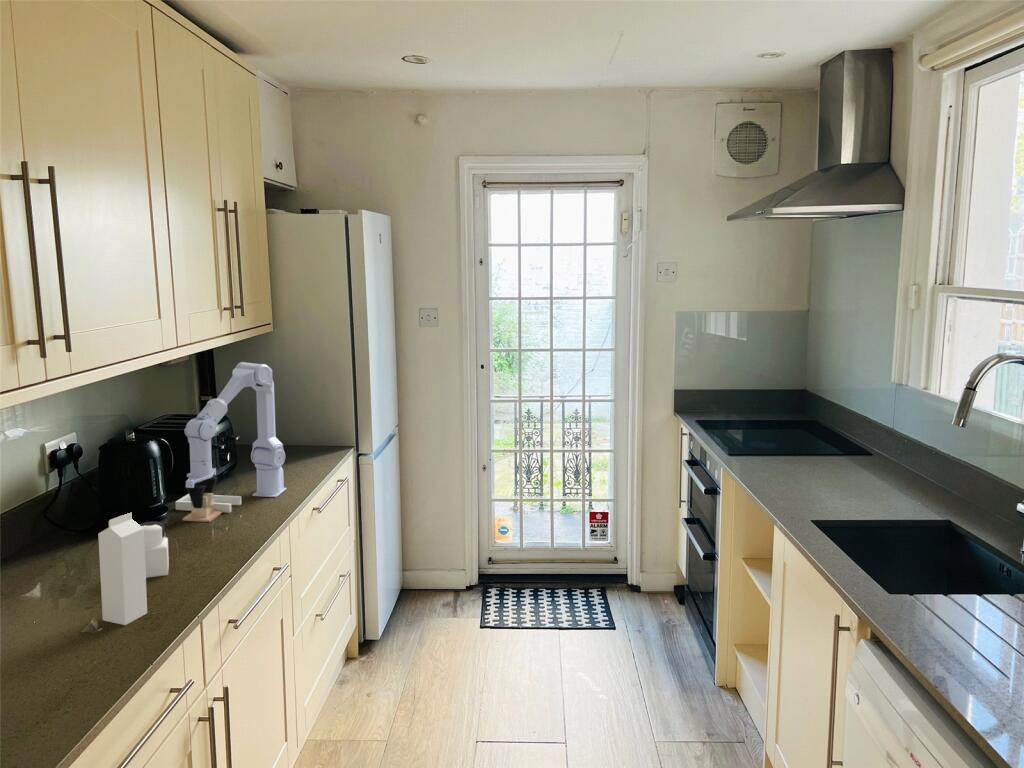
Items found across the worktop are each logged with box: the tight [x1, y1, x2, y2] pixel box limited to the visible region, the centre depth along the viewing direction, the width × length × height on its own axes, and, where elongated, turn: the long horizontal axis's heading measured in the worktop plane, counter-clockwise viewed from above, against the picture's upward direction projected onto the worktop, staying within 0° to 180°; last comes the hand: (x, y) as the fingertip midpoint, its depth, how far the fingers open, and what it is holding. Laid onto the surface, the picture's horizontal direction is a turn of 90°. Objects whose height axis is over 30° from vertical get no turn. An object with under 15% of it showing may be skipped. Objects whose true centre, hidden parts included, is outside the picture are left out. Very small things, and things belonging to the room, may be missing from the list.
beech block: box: [191, 492, 214, 518], centre depth 219 cm, size 4×4×6 cm
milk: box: [97, 512, 148, 626], centre depth 155 cm, size 6×6×22 cm
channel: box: [175, 493, 243, 513], centre depth 229 cm, size 8×17×2 cm, turn 86°
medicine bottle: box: [139, 520, 170, 579], centre depth 179 cm, size 7×7×12 cm
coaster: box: [182, 511, 223, 523], centre depth 220 cm, size 8×8×1 cm
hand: (202, 504), depth 219 cm, fingers open, 5 cm apart
